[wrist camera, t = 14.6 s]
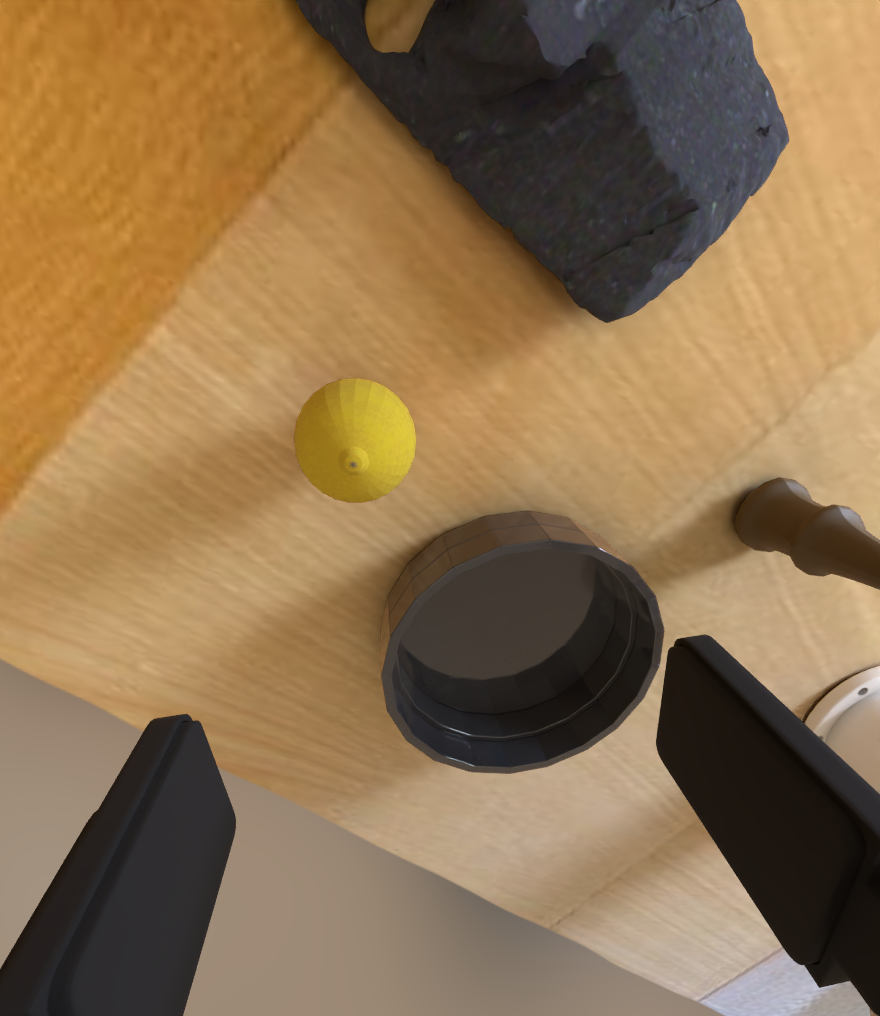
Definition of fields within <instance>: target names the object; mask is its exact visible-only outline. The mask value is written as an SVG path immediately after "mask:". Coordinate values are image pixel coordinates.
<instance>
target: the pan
mask: <svg viewBox="0 0 880 1016" xmlns="http://www.w3.org/2000/svg"><path fill="white" fill-rule="evenodd" d="M663 638H664V626H663V622H662V618H661V614H660V611H659V607H658V603H657V599H656V596H655V594H654V593H653V591H652V590H651V589H650V588H649V586H648V585H647V584H646V582H645V581H644V580H643V579H642V577H641V576H640V575H639V574H638V572H637V571H636V570H635V569H634V567H633V566H632V565H631V564H630V563H628V562H627V561H626V560H625V559H624V558H623V557H622V556H621V555H620V554H619V553H618V552H617V551H616V550H614V549H613V548H612V547H611V546H610V545H609V544H608V543H607V542H606V541H605V540H604V539H603V538H602V537H600V536H599V535H598V534H596V533H594V532H592V531H591V530H589V529H587V528H585V527H583V526H582V525H580V524H578V523H576V522H575V521H573V520H571V519H569V518H567V517H562V516H556V515H551V514H545V513H539V512H533V511H520V512H512V513H505V514H497V515H490V516H484V517H481V518H479V519H476V520H474V521H472V522H470V523H467V524H465V525H463V526H461V527H458V528H456V529H454V530H452V531H449V532H447V533H445V534H443V535H441V536H440V537H439V538H438V539H436V540H435V541H434V542H433V543H432V544H431V545H429V546H428V547H427V548H426V549H425V550H423V551H422V552H421V553H420V554H419V555H418V556H416V557H415V558H414V559H413V560H412V561H411V562H410V563H409V564H408V566H407V567H406V569H405V570H404V572H403V574H402V575H401V577H400V578H399V580H398V582H397V583H396V585H395V586H394V588H393V590H392V591H391V593H390V594H389V597H388V598H387V603H386V607H385V612H384V617H383V621H382V626H381V630H380V645H381V678H382V684H383V690H384V695H385V701H386V707H387V711H388V713H389V715H390V716H391V718H392V719H393V721H394V722H395V724H396V725H397V727H398V728H399V730H400V731H401V733H402V734H403V736H404V738H405V739H406V740H407V741H408V742H409V743H411V744H412V745H413V746H415V747H416V748H418V749H419V750H420V751H422V752H423V753H425V754H426V755H427V756H429V757H430V758H432V759H433V760H434V761H437V762H440V763H443V764H447V765H450V766H453V767H456V768H459V769H462V770H465V771H469V772H470V771H471V772H479V773H502V774H511V773H517V772H522V771H527V770H533V769H538V768H543V767H548V766H550V765H553V764H555V763H558V762H560V761H562V760H565V759H567V758H569V757H572V756H574V755H577V754H579V753H581V752H584V751H586V750H587V749H589V748H590V747H592V746H593V745H595V744H596V743H597V742H599V741H600V740H602V739H603V738H604V737H606V736H607V735H609V734H610V733H611V732H613V731H614V730H616V729H617V728H618V727H619V726H620V725H621V724H622V723H623V722H624V720H625V719H626V718H627V717H628V716H629V715H630V714H631V712H632V711H633V710H634V709H635V708H636V707H637V706H638V705H639V703H640V702H641V701H642V700H643V698H644V697H645V695H646V693H647V691H648V689H649V687H650V685H651V683H652V680H653V678H654V676H655V674H656V672H657V670H658V668H659V666H660V661H661V653H662V646H663Z"/></svg>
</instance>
